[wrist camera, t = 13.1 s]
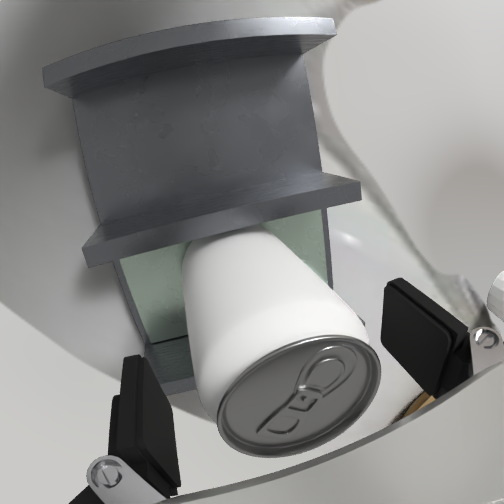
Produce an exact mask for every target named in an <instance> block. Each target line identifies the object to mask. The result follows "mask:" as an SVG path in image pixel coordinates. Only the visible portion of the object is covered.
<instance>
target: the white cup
mask: <svg viewBox="0 0 504 504" xmlns="http://www.w3.org/2000/svg"><path fill="white" fill-rule="evenodd" d="M487 307H488V309H489V310H490V311H491V312H493V313H494V314H495V315H496V316H497V317H499V318H500V319H501V320H502V321H503V322H504V271H503V272H501V273H500V274H499V275H498V276H497V277H496V279H495V281H494V282H493V284H492V286H491V289H490V291H489V294H488V298H487Z"/></svg>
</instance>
